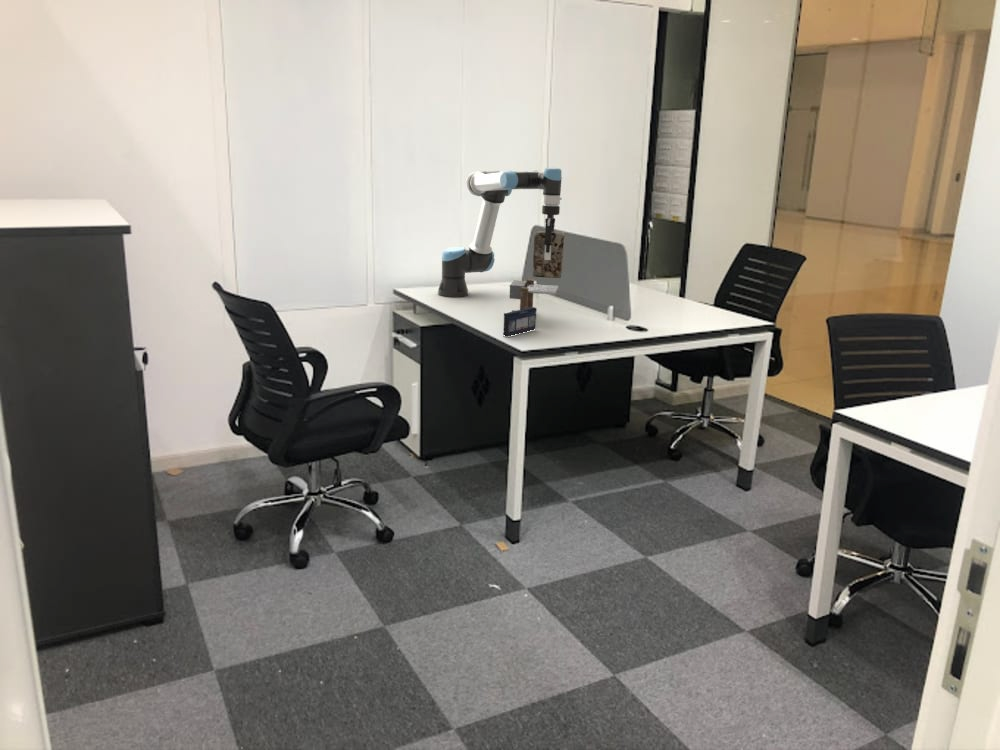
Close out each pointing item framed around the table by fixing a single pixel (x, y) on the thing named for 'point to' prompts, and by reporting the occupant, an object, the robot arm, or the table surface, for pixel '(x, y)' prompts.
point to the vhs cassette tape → (519, 321)
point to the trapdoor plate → (530, 289)
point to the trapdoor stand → (526, 296)
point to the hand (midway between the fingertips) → (548, 258)
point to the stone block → (555, 264)
